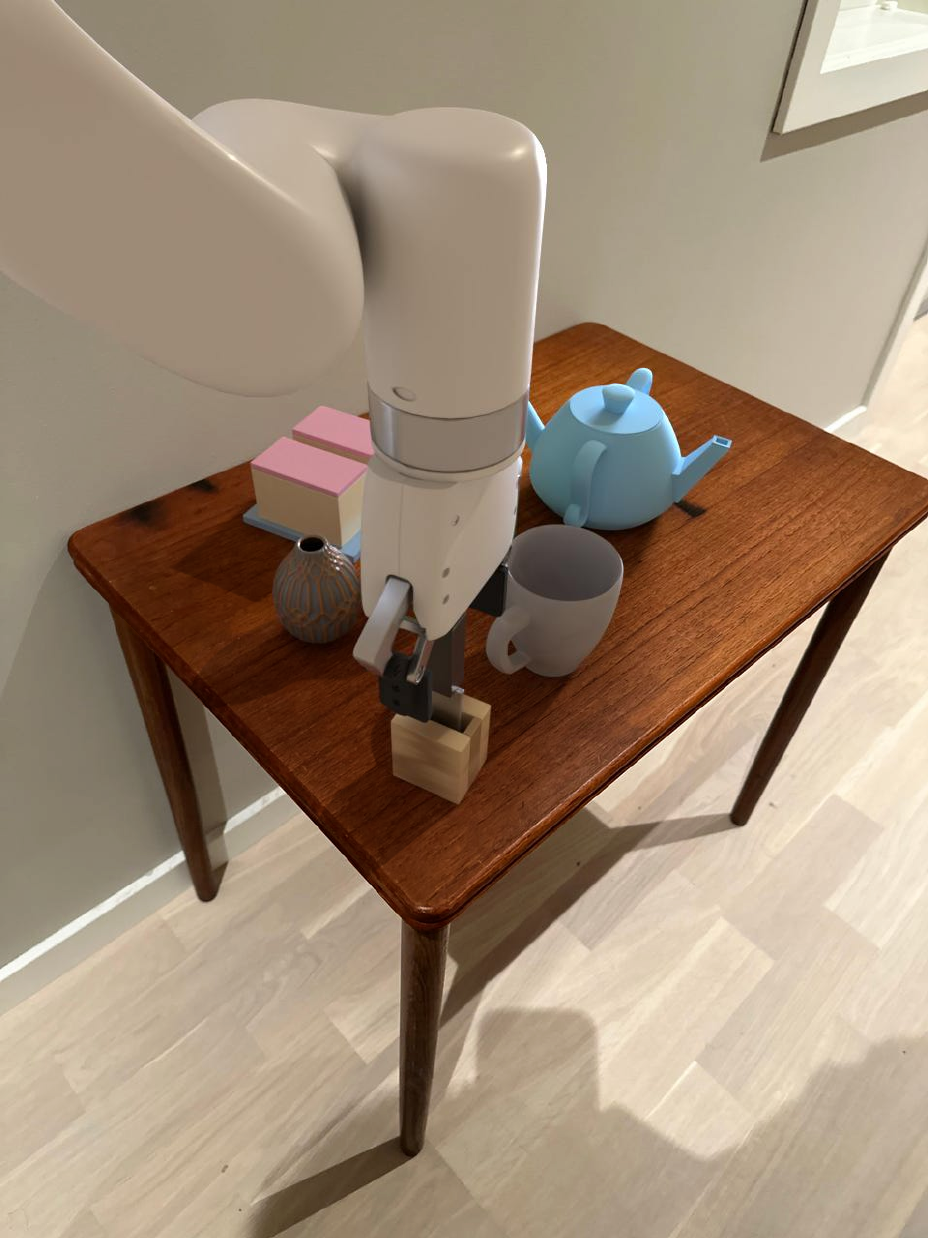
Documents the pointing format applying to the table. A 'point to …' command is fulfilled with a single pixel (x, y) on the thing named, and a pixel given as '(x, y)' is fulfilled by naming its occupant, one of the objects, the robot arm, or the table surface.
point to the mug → (555, 600)
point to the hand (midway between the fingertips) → (445, 656)
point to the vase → (316, 591)
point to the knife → (448, 676)
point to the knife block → (441, 751)
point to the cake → (315, 481)
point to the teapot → (613, 457)
